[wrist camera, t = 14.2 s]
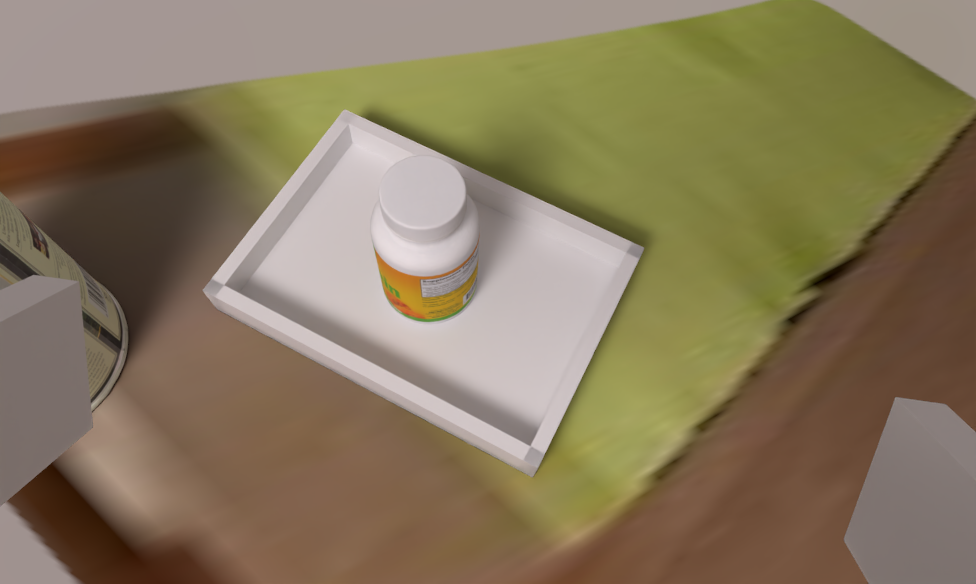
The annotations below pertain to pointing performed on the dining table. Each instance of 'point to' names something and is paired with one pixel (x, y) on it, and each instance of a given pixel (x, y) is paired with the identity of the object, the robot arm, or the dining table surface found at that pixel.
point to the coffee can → (29, 251)
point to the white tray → (444, 346)
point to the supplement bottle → (426, 239)
